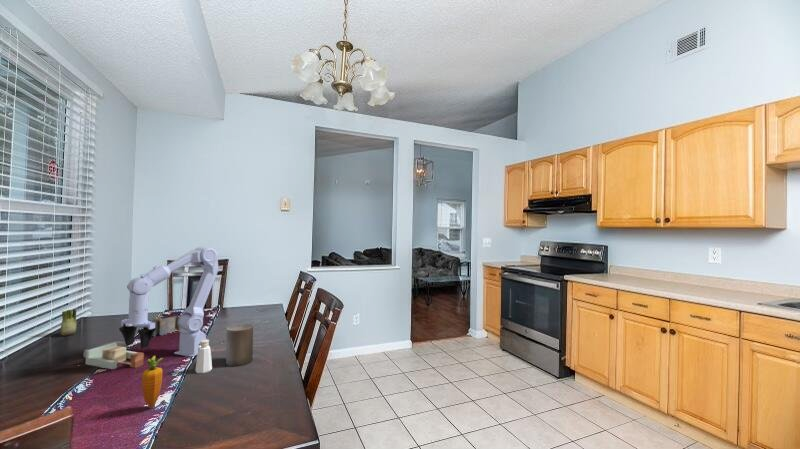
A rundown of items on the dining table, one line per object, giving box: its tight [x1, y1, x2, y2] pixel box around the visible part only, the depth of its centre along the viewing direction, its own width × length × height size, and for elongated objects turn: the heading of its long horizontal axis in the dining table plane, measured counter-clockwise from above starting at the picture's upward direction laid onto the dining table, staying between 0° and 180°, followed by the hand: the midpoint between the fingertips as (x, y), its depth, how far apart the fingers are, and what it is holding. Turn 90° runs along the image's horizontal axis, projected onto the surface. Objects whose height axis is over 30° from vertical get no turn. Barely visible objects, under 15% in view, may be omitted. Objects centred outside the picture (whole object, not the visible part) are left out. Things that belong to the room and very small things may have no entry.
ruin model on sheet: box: [151, 315, 181, 338], centre depth 164 cm, size 11×3×10 cm, turn 150°
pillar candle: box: [225, 322, 254, 367], centre depth 133 cm, size 10×10×15 cm
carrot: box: [141, 355, 164, 409], centre depth 98 cm, size 5×5×15 cm
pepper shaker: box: [194, 338, 213, 374], centre depth 124 cm, size 5×5×11 cm
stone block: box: [82, 340, 129, 359], centre depth 138 cm, size 12×5×10 cm
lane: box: [85, 342, 138, 370], centre depth 130 cm, size 14×10×5 cm
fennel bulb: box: [59, 308, 77, 337], centre depth 158 cm, size 6×5×12 cm
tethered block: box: [102, 346, 145, 369], centre depth 128 cm, size 16×5×5 cm, turn 74°
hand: (137, 346), depth 126 cm, fingers open, 7 cm apart
